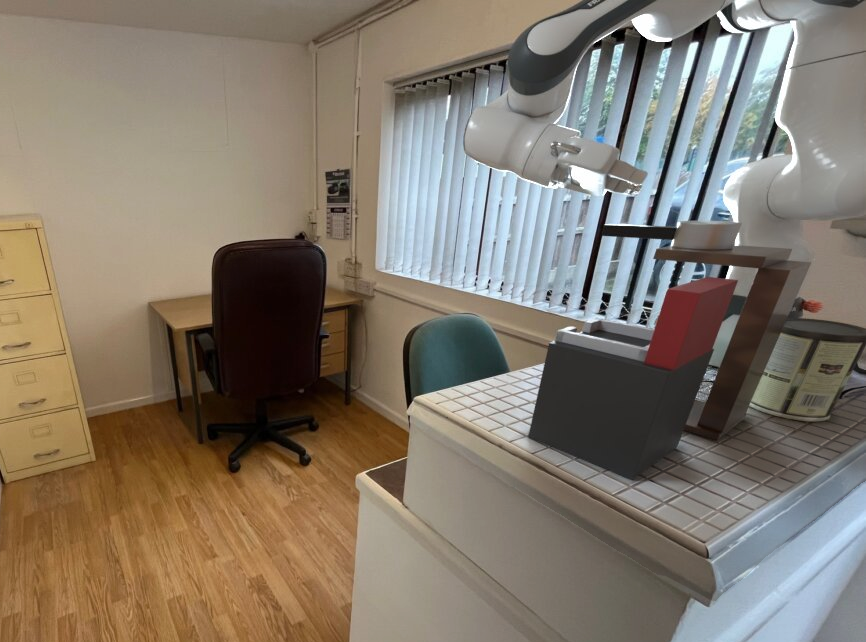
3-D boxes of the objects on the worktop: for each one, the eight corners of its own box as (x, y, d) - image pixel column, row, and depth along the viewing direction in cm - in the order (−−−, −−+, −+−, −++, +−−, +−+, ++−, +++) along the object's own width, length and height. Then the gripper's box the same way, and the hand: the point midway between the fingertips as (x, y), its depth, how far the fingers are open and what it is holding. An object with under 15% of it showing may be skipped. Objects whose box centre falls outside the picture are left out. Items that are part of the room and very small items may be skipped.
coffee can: (773, 392, 82) (809, 315, 76) (847, 418, 72) (894, 332, 67) (724, 398, 80) (757, 319, 74) (794, 425, 71) (837, 338, 65)
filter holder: (592, 242, 77) (597, 220, 75) (612, 239, 80) (617, 217, 79) (722, 251, 64) (732, 224, 62) (740, 247, 67) (749, 221, 66)
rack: (608, 406, 78) (655, 248, 68) (640, 389, 84) (688, 242, 74) (717, 440, 67) (793, 258, 57) (744, 418, 73) (818, 250, 63)
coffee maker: (527, 436, 70) (563, 277, 60) (575, 412, 77) (614, 265, 67) (632, 480, 59) (696, 294, 49) (676, 447, 66) (741, 279, 56)
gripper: (562, 117, 67) (664, 147, 62) (568, 152, 84) (649, 178, 78) (537, 162, 70) (632, 194, 64) (547, 187, 87) (624, 214, 81)
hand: (641, 185), depth 71 cm, fingers open, 8 cm apart
